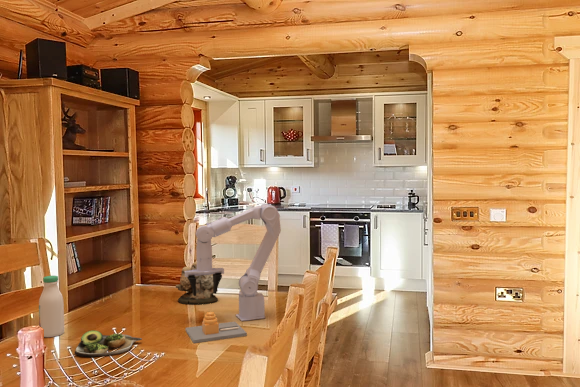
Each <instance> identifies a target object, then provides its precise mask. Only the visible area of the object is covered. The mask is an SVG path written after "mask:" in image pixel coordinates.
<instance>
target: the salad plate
mask: <svg viewBox="0 0 580 387" xmlns="http://www.w3.org/2000/svg"><path fill="white" fill-rule="evenodd" d="M142 340H143V338H141V337H134V336H131V335H128V334H122V333H113V334H109V335H107V334H106V335H105V334H103V333H102V332H100V331H99V330H93V329H92V330H88V331H86V332H85V333H83V334H82V336H81V337H80V341H79V343H78V344H77V347H76V348H75V351H74V354H75V355H77V357H78V356H79V357H82V358H96V357H106V356H111V355H112V356H113V355H118V354H119V355H120V354H122V353H125V352H127V351H129V350H130V349H131V348H132V346H133V344H134V343H136V342H138V341H142ZM117 349H118V350H117ZM107 350H108V351H107ZM110 350H114V351H110Z"/></svg>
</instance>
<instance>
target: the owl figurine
mask: <svg viewBox="0 0 580 387" xmlns="http://www.w3.org/2000/svg"><path fill="white" fill-rule="evenodd" d="M195 269H197V261H194V262H193V263H192V264H191V266H190V267H189V266H184V267H183V268H182V269H181V276H180V277H179V278H180V280H179V284H175V288H176V289H177V290H178V291H181V292H185V293H183V294H182V295H180V297H178V299H177V301H178V303H180V304H182V305H188V304H189V305H191V306H192V305H193V306H195V305H198V306H200V305H201V306H202V304H203V305H209V304H210V303H211V304H213V303H217V302H218V300H219V298H218V297H217V296H216V294H214V293H213V274H210V275H199V276H195V278H196V296H194V295H193V291H192V287H191V284H190V282H189V280H188V278H187V277H185V271H189V270H195ZM218 291H219V290H218V289H217V292H218Z"/></svg>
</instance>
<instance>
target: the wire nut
mask: <svg viewBox="0 0 580 387" xmlns="http://www.w3.org/2000/svg"><path fill="white" fill-rule="evenodd" d="M201 323H202V325H201V326H202V331H203V332H204V334H205V335H208V334H215V333H219V322H218V317H216V313H215V312H214V311H207V312H206V313H205V315H204V317H203V321H201Z"/></svg>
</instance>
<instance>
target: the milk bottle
mask: <svg viewBox="0 0 580 387" xmlns="http://www.w3.org/2000/svg"><path fill="white" fill-rule="evenodd" d="M42 282H43V283H42V284H43V288H42V289H43V290H42V292H41V295H40V297H39V299H38V323H39V324H38V326H40V327H42V328H43V329H44V337H43V338H52V337H54V338H55V337H58V336H60V335H63V334H64V333H65V305H64V297H63V294H62V292H61V291H60V288H59V285H58V283H59V276H58V275H47V276H44V277H43V279H42Z"/></svg>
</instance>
